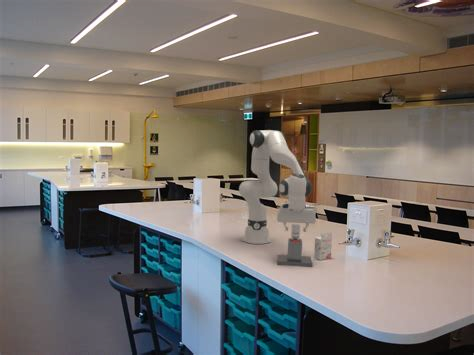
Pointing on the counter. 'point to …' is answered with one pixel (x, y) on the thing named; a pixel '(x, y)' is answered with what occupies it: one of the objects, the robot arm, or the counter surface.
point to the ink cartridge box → (323, 246)
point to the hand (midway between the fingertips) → (295, 231)
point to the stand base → (294, 255)
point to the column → (295, 232)
